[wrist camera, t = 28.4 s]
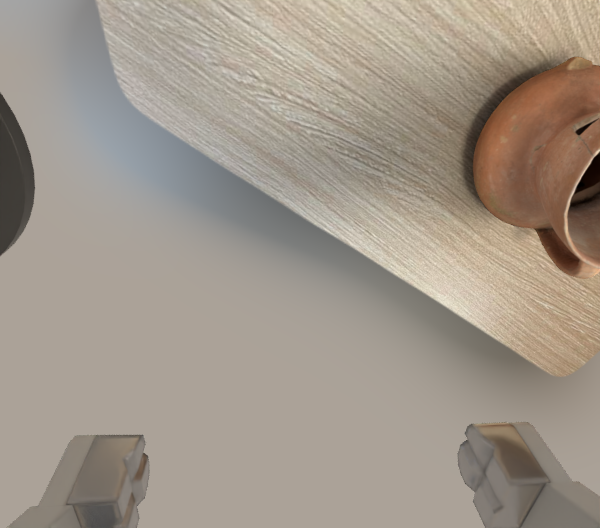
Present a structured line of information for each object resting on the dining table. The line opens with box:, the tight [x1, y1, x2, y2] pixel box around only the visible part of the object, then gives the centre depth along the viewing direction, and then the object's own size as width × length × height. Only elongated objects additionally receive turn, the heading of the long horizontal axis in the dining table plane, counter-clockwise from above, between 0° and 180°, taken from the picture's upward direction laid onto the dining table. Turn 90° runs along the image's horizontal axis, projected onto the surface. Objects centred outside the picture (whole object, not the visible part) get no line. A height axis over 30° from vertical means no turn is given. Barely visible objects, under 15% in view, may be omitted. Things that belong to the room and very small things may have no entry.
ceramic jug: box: [473, 57, 600, 279], centre depth 33 cm, size 18×14×14 cm
